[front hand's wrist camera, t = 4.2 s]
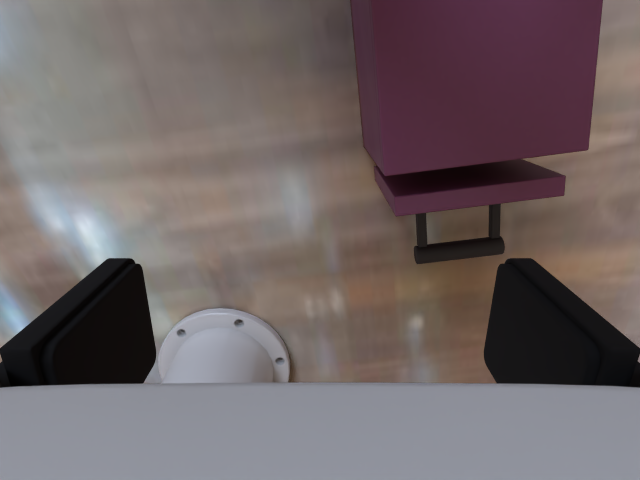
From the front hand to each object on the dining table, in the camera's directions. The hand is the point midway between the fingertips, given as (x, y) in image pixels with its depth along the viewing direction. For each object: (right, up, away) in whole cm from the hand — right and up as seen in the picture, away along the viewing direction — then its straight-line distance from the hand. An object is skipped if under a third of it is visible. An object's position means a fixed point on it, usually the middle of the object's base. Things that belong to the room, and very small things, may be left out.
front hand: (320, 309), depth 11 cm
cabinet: (+8, +18, +20) cm, 28 cm away
